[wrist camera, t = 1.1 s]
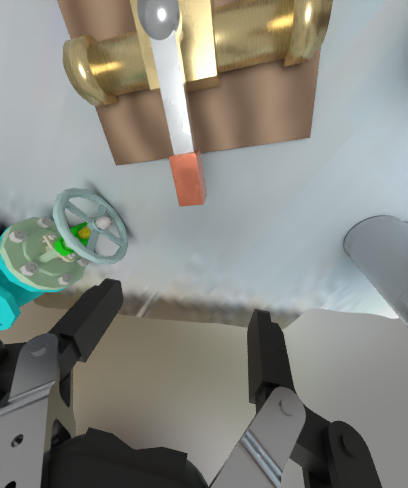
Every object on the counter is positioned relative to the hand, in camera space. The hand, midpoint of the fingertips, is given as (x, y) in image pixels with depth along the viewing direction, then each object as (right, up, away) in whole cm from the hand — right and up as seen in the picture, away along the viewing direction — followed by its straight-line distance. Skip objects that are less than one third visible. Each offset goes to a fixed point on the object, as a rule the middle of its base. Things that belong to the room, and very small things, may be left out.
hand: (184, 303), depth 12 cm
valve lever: (-1, +16, +8) cm, 18 cm away
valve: (-27, +6, +33) cm, 43 cm away
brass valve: (0, +28, +14) cm, 31 cm away
